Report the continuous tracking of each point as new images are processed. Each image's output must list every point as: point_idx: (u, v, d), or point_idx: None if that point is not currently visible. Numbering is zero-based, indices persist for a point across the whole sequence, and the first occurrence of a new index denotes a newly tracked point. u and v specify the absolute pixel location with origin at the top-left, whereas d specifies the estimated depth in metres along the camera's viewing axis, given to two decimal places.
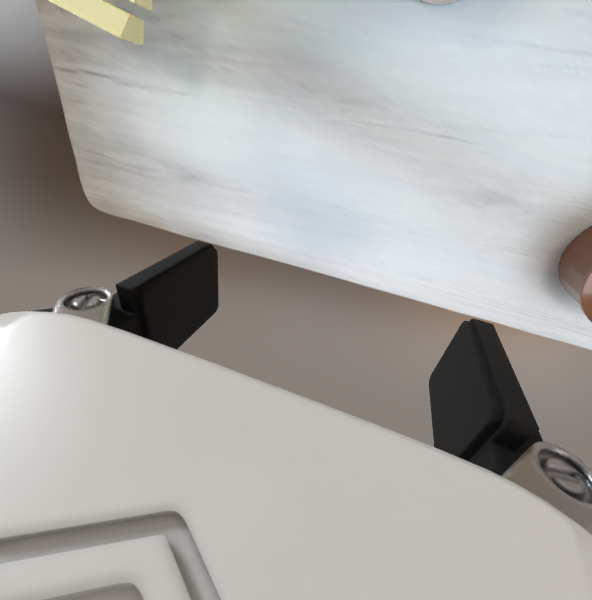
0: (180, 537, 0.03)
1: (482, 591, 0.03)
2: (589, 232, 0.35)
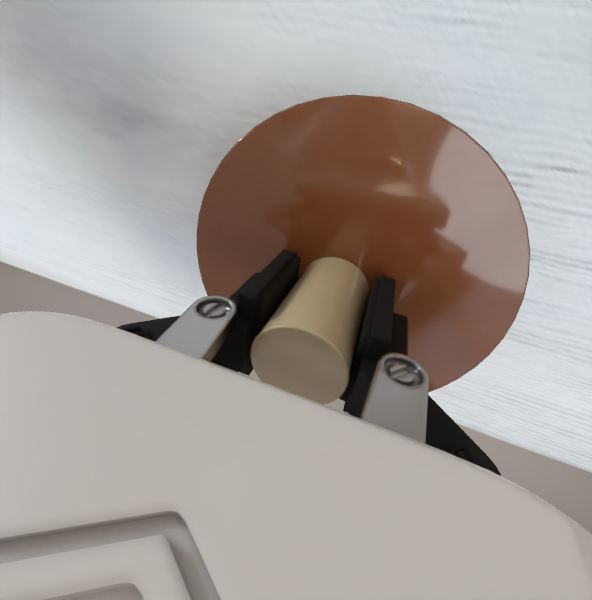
0: (180, 537, 0.03)
1: (482, 590, 0.03)
2: None
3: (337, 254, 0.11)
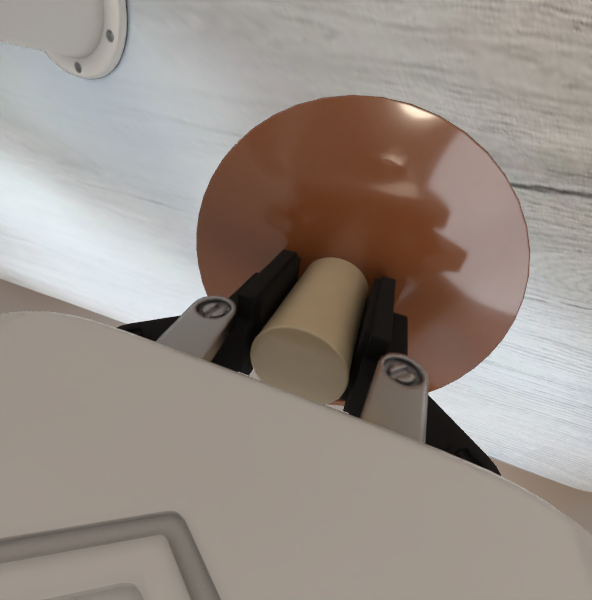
0: (180, 537, 0.03)
1: (482, 591, 0.03)
2: None
3: (337, 254, 0.11)
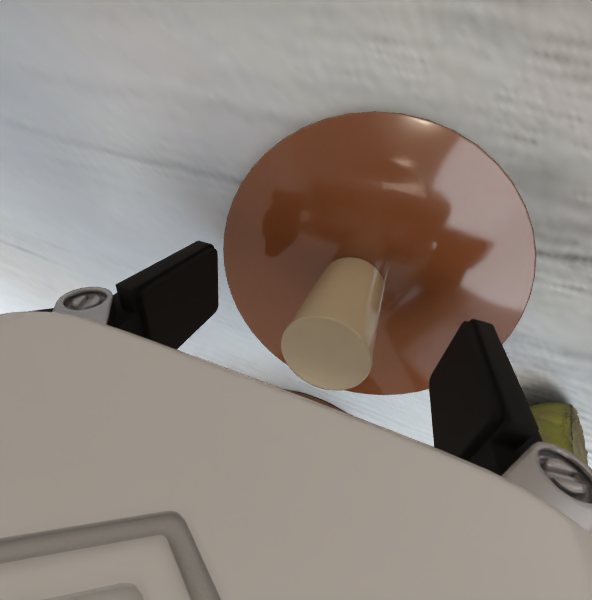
0: (180, 537, 0.03)
1: (482, 591, 0.03)
2: None
3: (356, 255, 0.12)
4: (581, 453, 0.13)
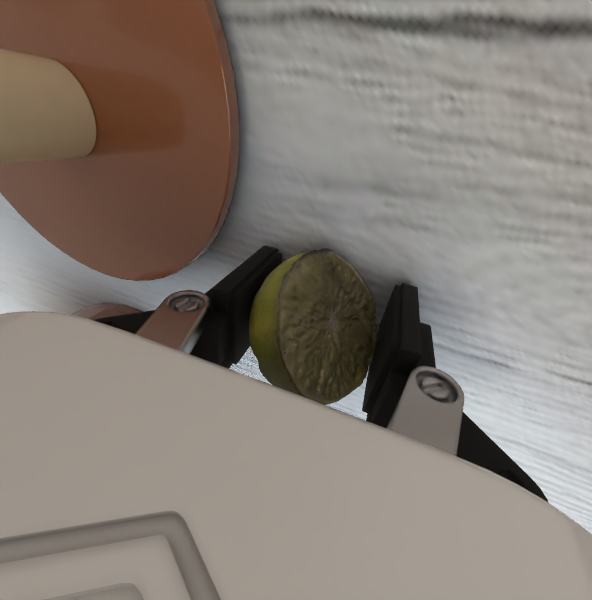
0: (180, 537, 0.03)
1: (482, 590, 0.03)
2: None
3: (41, 51, 0.09)
4: (361, 321, 0.10)
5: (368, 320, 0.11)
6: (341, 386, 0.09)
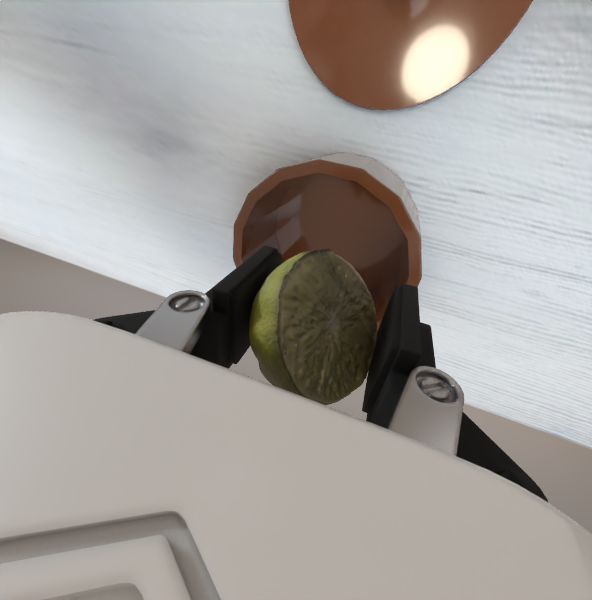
0: (180, 537, 0.03)
1: (482, 591, 0.03)
2: None
3: None
4: (362, 322, 0.10)
5: (368, 320, 0.11)
6: (341, 386, 0.09)
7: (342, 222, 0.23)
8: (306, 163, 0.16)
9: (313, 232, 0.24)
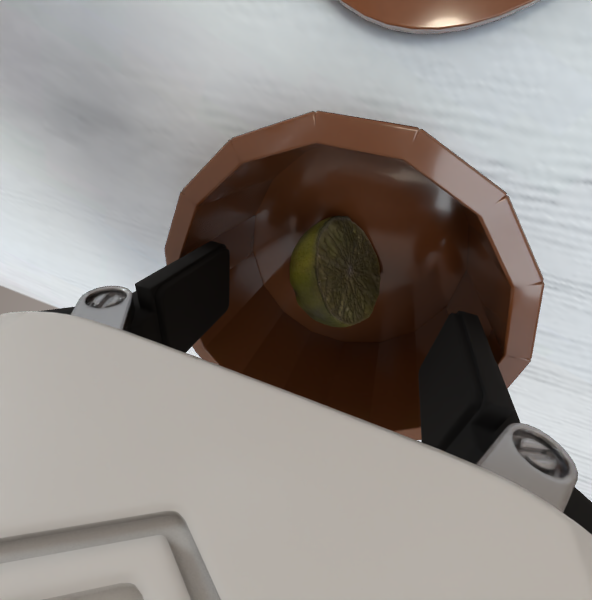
0: (180, 536, 0.03)
1: (482, 590, 0.03)
2: None
3: None
4: (369, 273, 0.14)
5: (374, 273, 0.14)
6: (354, 315, 0.13)
7: None
8: (288, 122, 0.07)
9: None
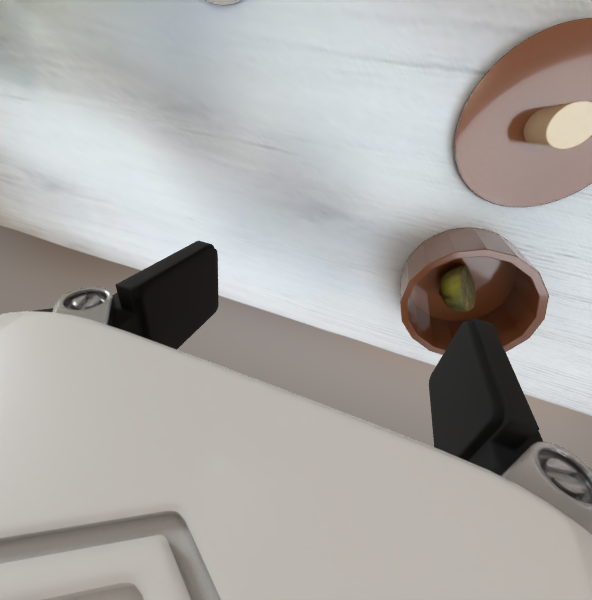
0: (180, 537, 0.03)
1: (482, 591, 0.03)
2: (417, 250, 0.33)
3: (554, 103, 0.23)
4: (472, 288, 0.32)
5: (473, 288, 0.32)
6: (469, 306, 0.31)
7: None
8: (477, 250, 0.25)
9: (438, 277, 0.34)
